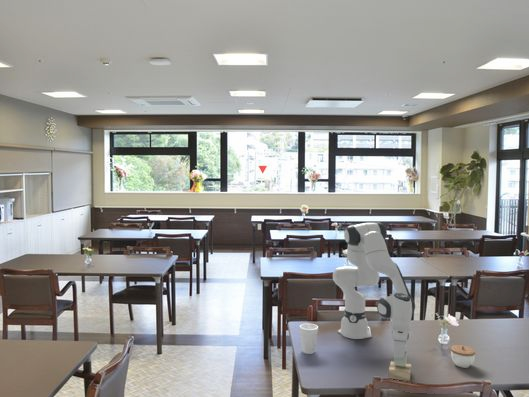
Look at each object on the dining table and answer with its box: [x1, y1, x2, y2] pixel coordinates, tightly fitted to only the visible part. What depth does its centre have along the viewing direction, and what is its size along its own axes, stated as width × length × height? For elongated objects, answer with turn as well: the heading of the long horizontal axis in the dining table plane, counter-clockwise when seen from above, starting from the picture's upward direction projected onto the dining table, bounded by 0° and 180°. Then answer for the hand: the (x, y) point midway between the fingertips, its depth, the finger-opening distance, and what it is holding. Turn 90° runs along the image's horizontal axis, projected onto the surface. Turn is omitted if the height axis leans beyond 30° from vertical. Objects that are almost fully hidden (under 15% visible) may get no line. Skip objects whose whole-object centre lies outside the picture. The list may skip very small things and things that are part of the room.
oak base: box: [388, 360, 412, 382], centre depth 197 cm, size 9×9×4 cm
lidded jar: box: [450, 344, 476, 369], centre depth 209 cm, size 11×11×9 cm
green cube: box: [393, 351, 408, 367], centre depth 197 cm, size 5×5×5 cm
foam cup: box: [299, 322, 319, 355], centre depth 223 cm, size 10×9×13 cm
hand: (400, 360), depth 197 cm, fingers closed on green cube, 5 cm apart
